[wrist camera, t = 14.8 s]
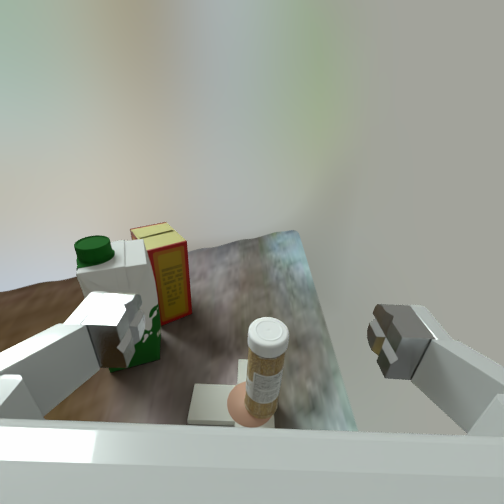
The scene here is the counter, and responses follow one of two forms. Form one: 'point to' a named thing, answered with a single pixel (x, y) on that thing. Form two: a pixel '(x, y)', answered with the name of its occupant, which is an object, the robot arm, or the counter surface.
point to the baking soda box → (168, 269)
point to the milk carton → (122, 284)
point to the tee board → (224, 404)
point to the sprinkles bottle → (265, 365)
